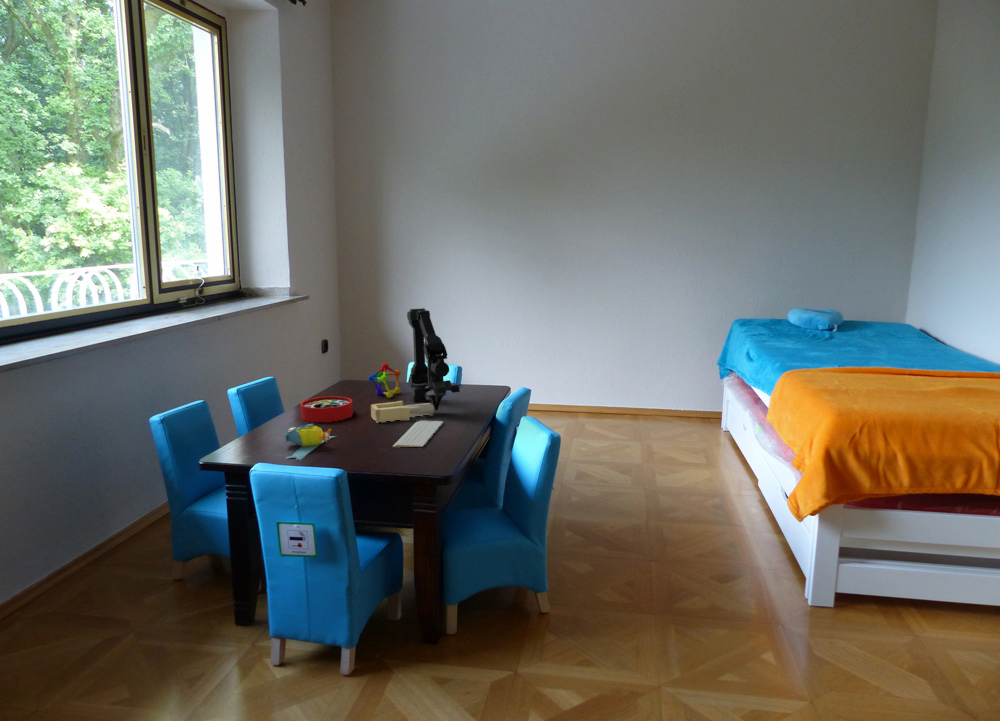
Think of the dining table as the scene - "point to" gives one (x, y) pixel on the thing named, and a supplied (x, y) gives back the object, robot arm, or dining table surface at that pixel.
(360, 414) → the dining table surface
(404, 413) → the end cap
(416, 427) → the baseboard molding
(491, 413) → the dining table surface
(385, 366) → the educational toy
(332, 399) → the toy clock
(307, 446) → the toy airplane
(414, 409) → the ash slat
